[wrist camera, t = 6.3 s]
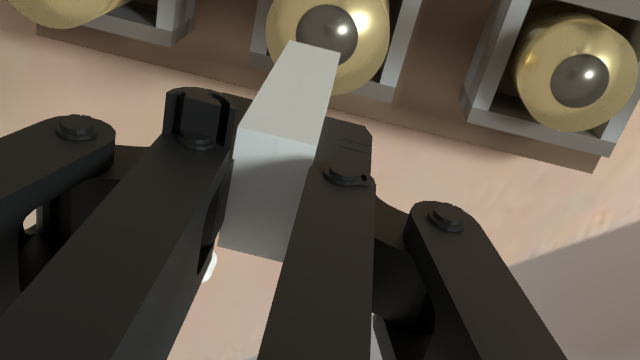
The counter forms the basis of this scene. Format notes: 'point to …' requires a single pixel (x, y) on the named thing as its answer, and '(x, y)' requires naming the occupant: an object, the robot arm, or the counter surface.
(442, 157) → the counter surface
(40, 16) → the knob
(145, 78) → the counter surface
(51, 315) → the robot arm
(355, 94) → the mount
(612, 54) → the knob
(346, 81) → the knob middle
